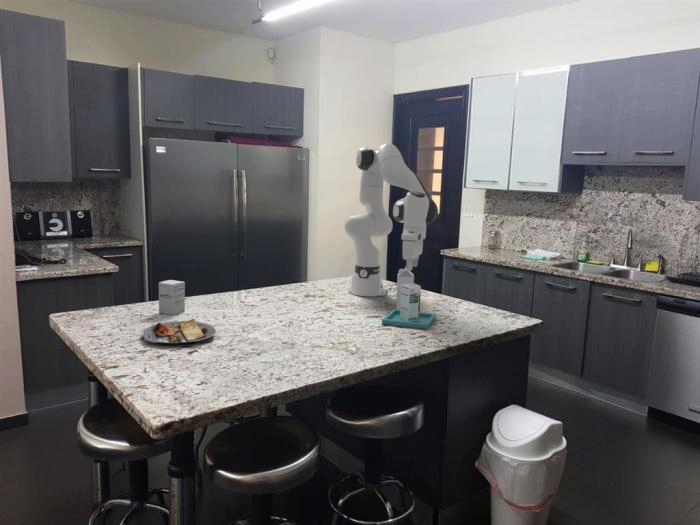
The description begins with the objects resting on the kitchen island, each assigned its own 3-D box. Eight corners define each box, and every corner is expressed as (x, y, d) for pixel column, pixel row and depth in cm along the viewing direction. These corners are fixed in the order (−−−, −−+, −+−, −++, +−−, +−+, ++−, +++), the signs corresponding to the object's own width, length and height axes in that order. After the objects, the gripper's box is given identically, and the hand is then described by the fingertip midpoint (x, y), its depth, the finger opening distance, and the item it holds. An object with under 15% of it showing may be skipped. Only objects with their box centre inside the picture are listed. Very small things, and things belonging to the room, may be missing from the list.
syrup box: (407, 322, 211) (409, 286, 208) (399, 318, 216) (401, 283, 214) (419, 321, 213) (421, 285, 211) (411, 317, 218) (413, 282, 216)
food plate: (142, 328, 192) (141, 319, 191) (208, 324, 201) (208, 315, 200) (145, 352, 169) (145, 341, 168) (219, 346, 178) (220, 336, 178)
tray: (393, 313, 226) (393, 309, 225) (435, 318, 220) (435, 314, 220) (381, 324, 209) (382, 319, 209) (427, 330, 203) (427, 325, 203)
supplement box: (158, 313, 213) (157, 282, 211) (171, 309, 220) (170, 279, 218) (173, 315, 210) (172, 284, 208) (185, 311, 217) (185, 281, 215)
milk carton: (411, 307, 239) (414, 265, 236) (412, 311, 232) (414, 268, 229) (395, 306, 239) (398, 264, 236) (395, 310, 232) (397, 267, 229)
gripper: (412, 230, 220) (410, 263, 222) (400, 235, 200) (398, 271, 203) (427, 231, 218) (425, 265, 220) (416, 237, 198) (414, 273, 201)
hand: (412, 268), depth 211 cm, fingers open, 8 cm apart
